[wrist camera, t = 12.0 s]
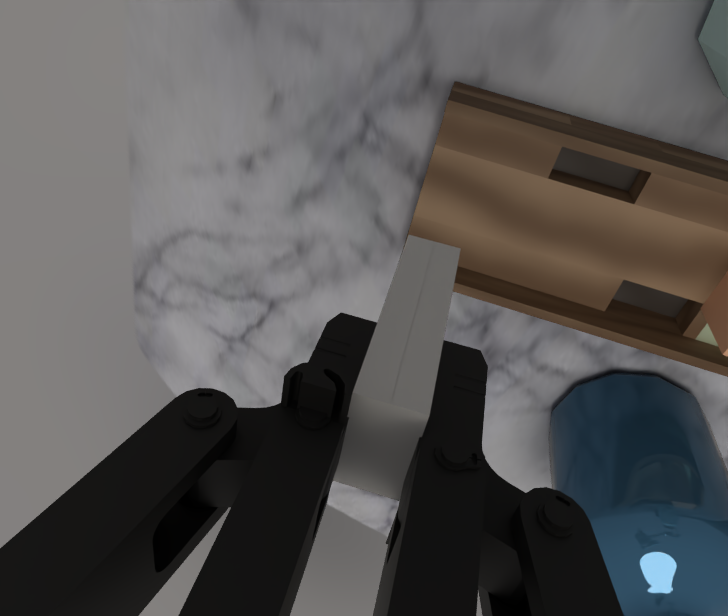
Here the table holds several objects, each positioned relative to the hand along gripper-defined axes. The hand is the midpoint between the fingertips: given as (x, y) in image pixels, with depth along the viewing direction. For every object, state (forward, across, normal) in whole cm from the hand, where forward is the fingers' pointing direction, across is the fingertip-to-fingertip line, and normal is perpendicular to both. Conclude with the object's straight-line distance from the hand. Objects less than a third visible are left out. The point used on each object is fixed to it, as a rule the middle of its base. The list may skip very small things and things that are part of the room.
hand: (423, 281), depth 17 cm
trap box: (+27, +13, -8) cm, 31 cm away
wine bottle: (+27, +21, -26) cm, 43 cm away
